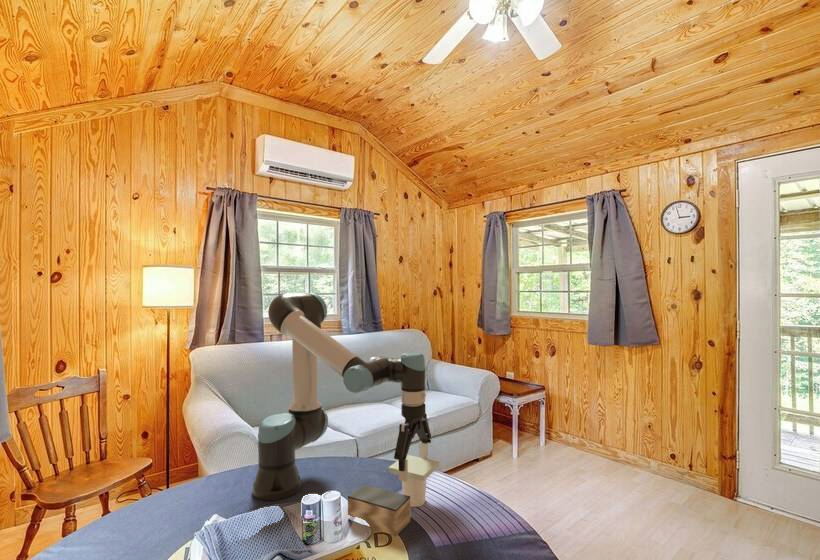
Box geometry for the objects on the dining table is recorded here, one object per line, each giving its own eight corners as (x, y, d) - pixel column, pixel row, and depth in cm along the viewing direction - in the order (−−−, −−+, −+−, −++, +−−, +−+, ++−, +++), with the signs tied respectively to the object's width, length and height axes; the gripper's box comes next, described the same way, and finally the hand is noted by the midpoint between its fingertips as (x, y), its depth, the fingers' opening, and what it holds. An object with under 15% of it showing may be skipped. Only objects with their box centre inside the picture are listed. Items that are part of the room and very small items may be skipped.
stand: (347, 520, 119) (347, 495, 119) (363, 507, 126) (363, 484, 126) (396, 536, 111) (396, 509, 111) (410, 521, 118) (410, 496, 118)
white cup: (427, 495, 132) (427, 464, 132) (426, 508, 124) (425, 475, 125) (403, 494, 133) (402, 463, 133) (400, 507, 125) (399, 474, 125)
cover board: (388, 472, 127) (388, 467, 127) (406, 459, 137) (406, 454, 137) (423, 480, 121) (423, 475, 121) (439, 466, 131) (439, 461, 131)
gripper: (404, 415, 116) (405, 492, 116) (440, 395, 138) (441, 458, 138) (381, 412, 120) (382, 486, 120) (420, 392, 142) (421, 454, 142)
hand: (414, 471), depth 129 cm, fingers open, 13 cm apart
